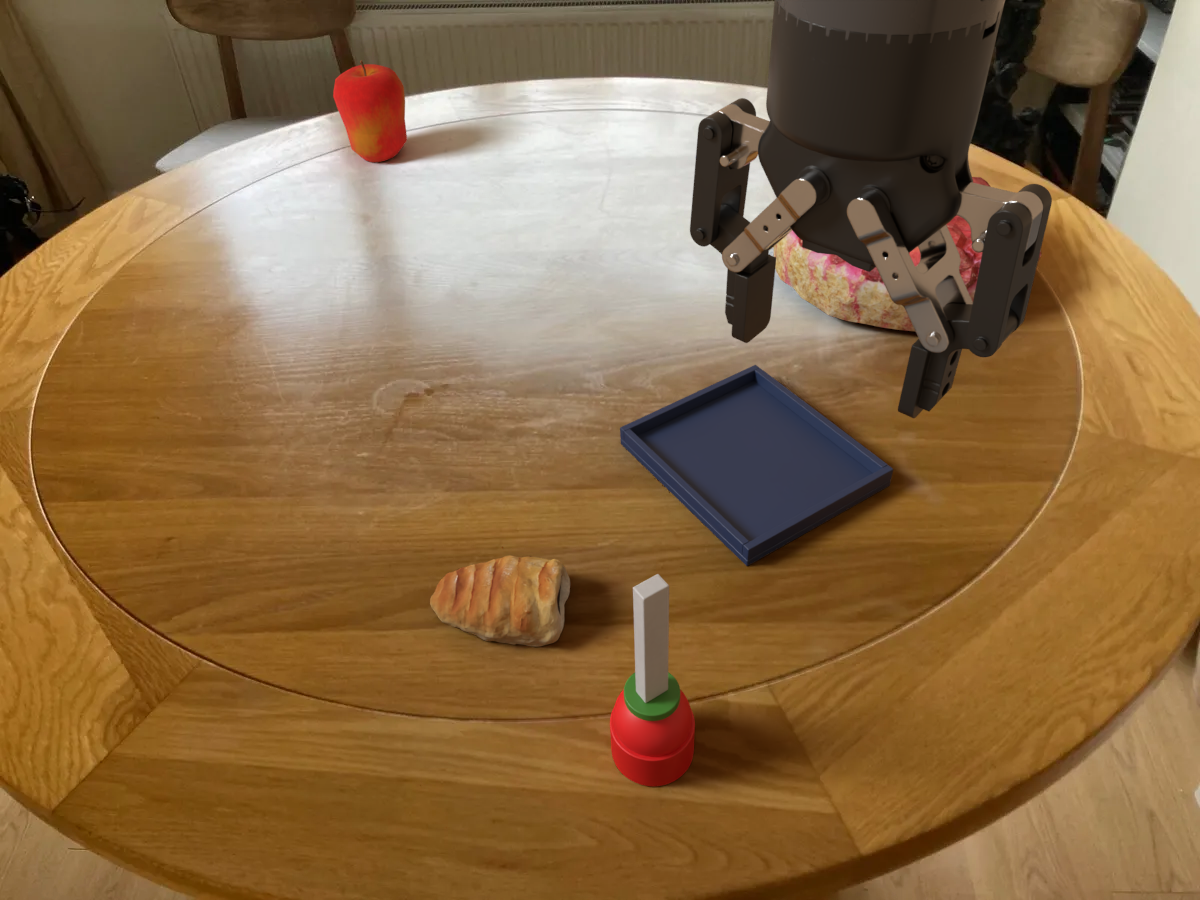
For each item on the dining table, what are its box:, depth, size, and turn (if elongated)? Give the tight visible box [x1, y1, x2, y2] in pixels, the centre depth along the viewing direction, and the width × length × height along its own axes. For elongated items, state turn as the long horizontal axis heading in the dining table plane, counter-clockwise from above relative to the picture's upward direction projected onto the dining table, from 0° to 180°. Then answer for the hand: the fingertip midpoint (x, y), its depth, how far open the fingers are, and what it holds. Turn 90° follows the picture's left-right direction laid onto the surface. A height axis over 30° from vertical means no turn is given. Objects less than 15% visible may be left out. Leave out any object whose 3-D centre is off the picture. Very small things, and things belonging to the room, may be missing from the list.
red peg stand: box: [609, 573, 696, 787], centre depth 53 cm, size 5×5×15 cm
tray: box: [619, 364, 894, 567], centre depth 76 cm, size 16×14×2 cm
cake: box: [773, 176, 1042, 332], centre depth 94 cm, size 25×25×8 cm
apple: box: [332, 59, 408, 163], centre depth 117 cm, size 9×8×12 cm
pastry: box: [429, 554, 571, 648], centre depth 65 cm, size 9×7×4 cm
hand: (829, 368), depth 43 cm, fingers open, 8 cm apart
